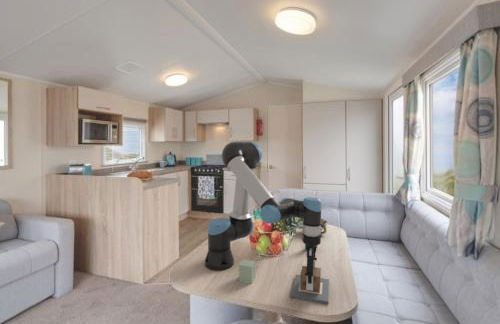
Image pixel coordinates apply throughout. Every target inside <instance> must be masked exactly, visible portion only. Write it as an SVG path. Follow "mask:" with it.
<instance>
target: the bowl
mask: <svg viewBox="0 0 500 324" xmlns="http://www.w3.org/2000/svg"><path fill="white" fill-rule="evenodd" d="M327 224H328V220H326V219H325V218H321V227H322V229H321V234H320V235H324V234H326V233H327ZM322 230H323V231H322Z"/></svg>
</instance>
